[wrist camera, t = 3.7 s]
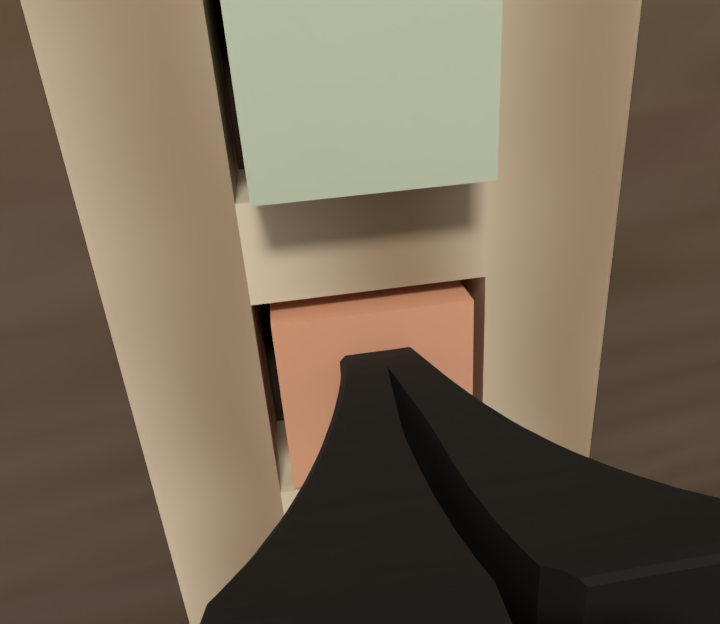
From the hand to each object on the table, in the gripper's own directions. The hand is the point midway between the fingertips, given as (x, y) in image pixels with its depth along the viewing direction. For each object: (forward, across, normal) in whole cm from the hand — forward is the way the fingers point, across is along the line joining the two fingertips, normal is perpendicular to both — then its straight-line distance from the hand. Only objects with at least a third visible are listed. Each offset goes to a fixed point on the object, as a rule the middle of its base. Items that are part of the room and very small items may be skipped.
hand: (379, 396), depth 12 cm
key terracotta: (+2, 0, 0) cm, 2 cm away
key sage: (+1, 0, -6) cm, 6 cm away
